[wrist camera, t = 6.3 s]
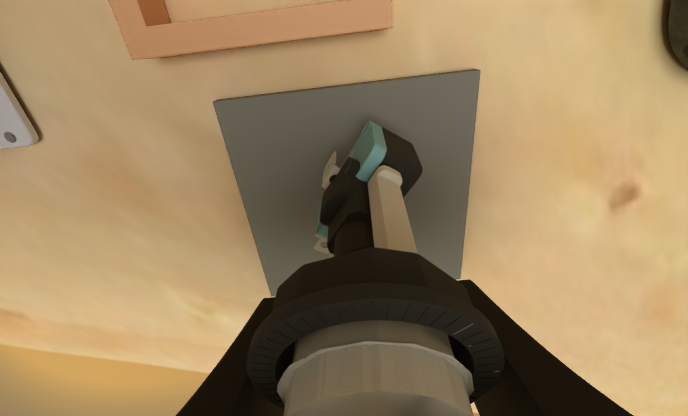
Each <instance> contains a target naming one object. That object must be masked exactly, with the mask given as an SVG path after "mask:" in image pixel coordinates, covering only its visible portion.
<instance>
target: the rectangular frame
mask: <svg viewBox="0 0 688 416" xmlns="http://www.w3.org/2000/svg"><path fill="white" fill-rule="evenodd" d="M108 1H109V3H110V6H111V8H112V11H113V13H114V16H115V18H116V21H117V23H118V26H119V28H120V31H121V33H122V36H123V38H124V41H125V43H126V46H127V48H128V51H129V53H130V56H131V58H132V60H138V59H151V58H162V57H170V56H178V55H186V54H194V53H202V52H210V51H218V50H226V49H234V48H242V47H250V46H258V45H266V44H273V43H281V42H289V41H297V40H305V39H313V38H321V37H329V36H337V35H345V34H353V33H361V32H369V31H377V30H385V29H388V28H391V27H392V0H346V1H339V2H331V3H323V4H316V5H308V6H300V7H293V8H285V9H277V10H269V11H262V12H254V13H246V14H239V15H231V16H223V17H216V18H208V19H200V20H193V21H185V22H177V23H171V22H170V19H169V16H168V13H167V10H166V7H165V4H164V1H163V0H108Z"/></svg>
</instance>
